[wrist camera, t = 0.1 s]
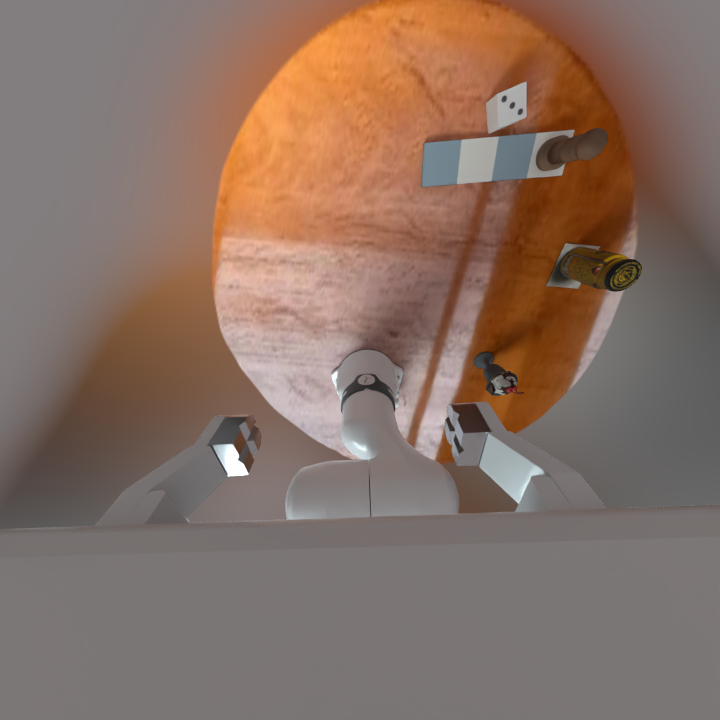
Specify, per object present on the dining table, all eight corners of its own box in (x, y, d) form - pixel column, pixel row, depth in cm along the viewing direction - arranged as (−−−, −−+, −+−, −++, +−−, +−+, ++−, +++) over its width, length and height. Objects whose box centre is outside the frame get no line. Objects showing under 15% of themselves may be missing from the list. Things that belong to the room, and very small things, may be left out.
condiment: (599, 246, 51) (658, 257, 41) (577, 288, 56) (626, 307, 46) (564, 243, 51) (615, 253, 41) (545, 285, 56) (586, 304, 45)
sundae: (502, 352, 64) (537, 390, 52) (487, 373, 68) (517, 413, 55) (479, 345, 63) (509, 382, 50) (465, 367, 67) (490, 406, 54)
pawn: (558, 170, 44) (610, 161, 35) (532, 172, 44) (576, 164, 35) (567, 136, 42) (625, 118, 33) (540, 139, 42) (589, 121, 33)
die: (513, 123, 42) (526, 116, 38) (487, 134, 42) (499, 128, 39) (512, 91, 40) (526, 80, 36) (485, 102, 40) (497, 93, 37)
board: (558, 175, 45) (561, 175, 44) (421, 187, 46) (422, 186, 45) (570, 131, 42) (574, 129, 41) (423, 144, 43) (424, 143, 42)
